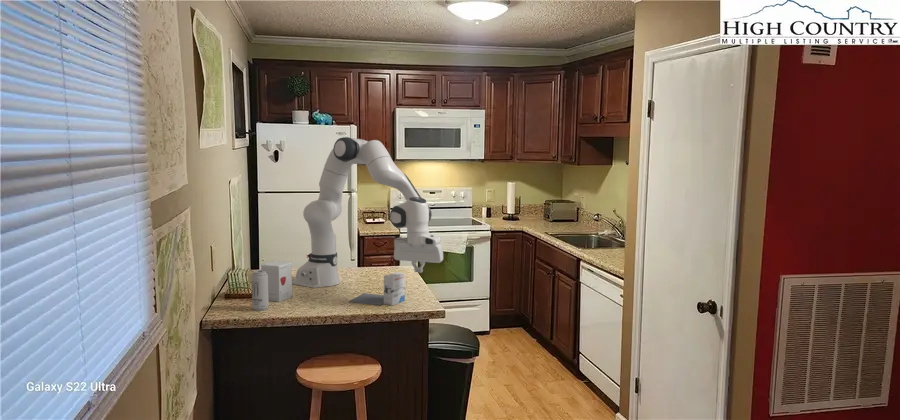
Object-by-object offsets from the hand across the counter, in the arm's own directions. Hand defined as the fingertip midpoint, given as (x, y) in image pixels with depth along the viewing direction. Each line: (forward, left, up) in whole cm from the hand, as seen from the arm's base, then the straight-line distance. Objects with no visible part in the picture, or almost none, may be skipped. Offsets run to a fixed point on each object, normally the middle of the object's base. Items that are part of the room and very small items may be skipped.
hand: (418, 272), depth 230 cm
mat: (-21, 0, -13) cm, 25 cm away
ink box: (-10, 0, -14) cm, 17 cm away
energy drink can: (-55, -27, -14) cm, 63 cm away
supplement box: (-58, -12, -14) cm, 61 cm away
